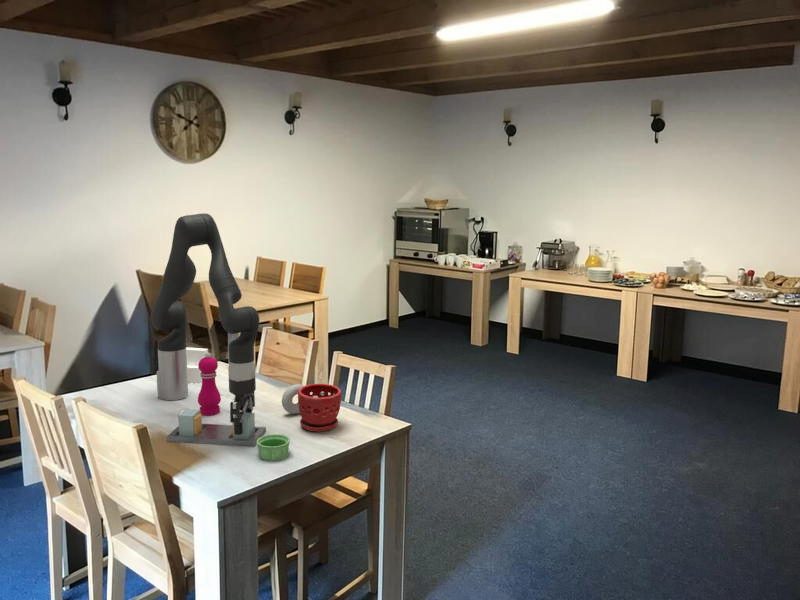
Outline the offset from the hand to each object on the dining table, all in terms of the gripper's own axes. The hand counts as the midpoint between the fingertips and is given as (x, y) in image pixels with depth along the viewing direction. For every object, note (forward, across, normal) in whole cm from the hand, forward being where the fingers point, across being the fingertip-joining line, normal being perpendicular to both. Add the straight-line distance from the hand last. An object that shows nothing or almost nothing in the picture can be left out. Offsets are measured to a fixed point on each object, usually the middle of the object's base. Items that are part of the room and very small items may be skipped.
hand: (243, 428), depth 191 cm
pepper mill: (+3, -19, -18) cm, 26 cm away
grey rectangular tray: (+3, 0, -8) cm, 9 cm away
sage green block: (+3, 0, -16) cm, 16 cm away
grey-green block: (+3, 0, 0) cm, 3 cm away
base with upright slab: (+3, -51, -36) cm, 63 cm away
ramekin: (+3, +10, +12) cm, 16 cm away
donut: (+3, -22, +10) cm, 24 cm away
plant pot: (+3, -12, +20) cm, 24 cm away
